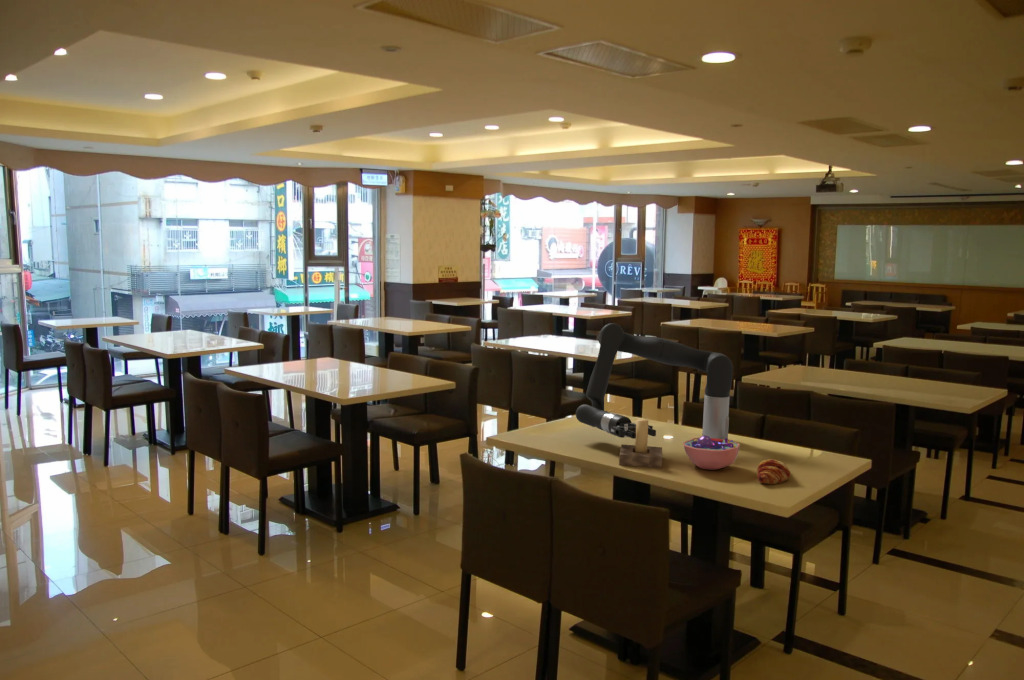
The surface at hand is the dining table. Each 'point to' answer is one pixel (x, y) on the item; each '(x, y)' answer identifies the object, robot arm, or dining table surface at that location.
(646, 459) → the hole block
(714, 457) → the cell model
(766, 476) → the croissant
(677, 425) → the dining table surface
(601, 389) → the robot arm
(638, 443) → the peg
